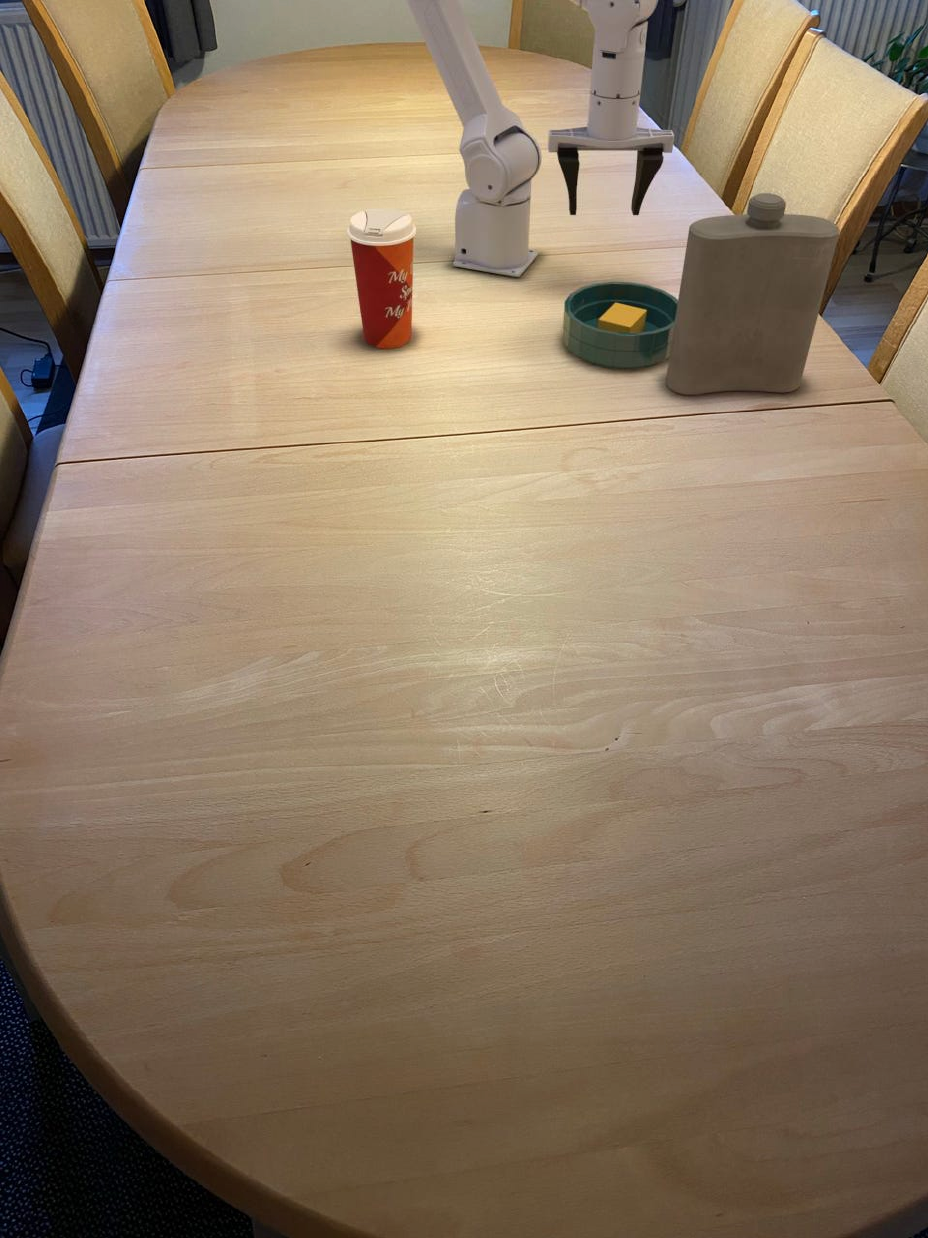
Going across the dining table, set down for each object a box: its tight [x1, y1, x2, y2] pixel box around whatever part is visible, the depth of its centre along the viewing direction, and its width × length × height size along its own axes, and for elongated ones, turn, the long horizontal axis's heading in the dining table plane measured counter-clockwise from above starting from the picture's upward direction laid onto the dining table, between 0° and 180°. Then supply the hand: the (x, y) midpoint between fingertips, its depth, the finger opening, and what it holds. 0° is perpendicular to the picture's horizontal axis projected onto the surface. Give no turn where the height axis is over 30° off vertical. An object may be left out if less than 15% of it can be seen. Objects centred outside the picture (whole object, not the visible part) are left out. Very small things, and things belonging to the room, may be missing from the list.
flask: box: [665, 192, 841, 396], centre depth 104 cm, size 15×6×20 cm, turn 93°
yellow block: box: [598, 303, 647, 333], centre depth 116 cm, size 4×5×3 cm
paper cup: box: [346, 207, 417, 349], centre depth 114 cm, size 8×8×14 cm
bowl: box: [561, 281, 678, 371], centre depth 116 cm, size 14×14×4 cm
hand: (603, 212), depth 122 cm, fingers open, 7 cm apart
